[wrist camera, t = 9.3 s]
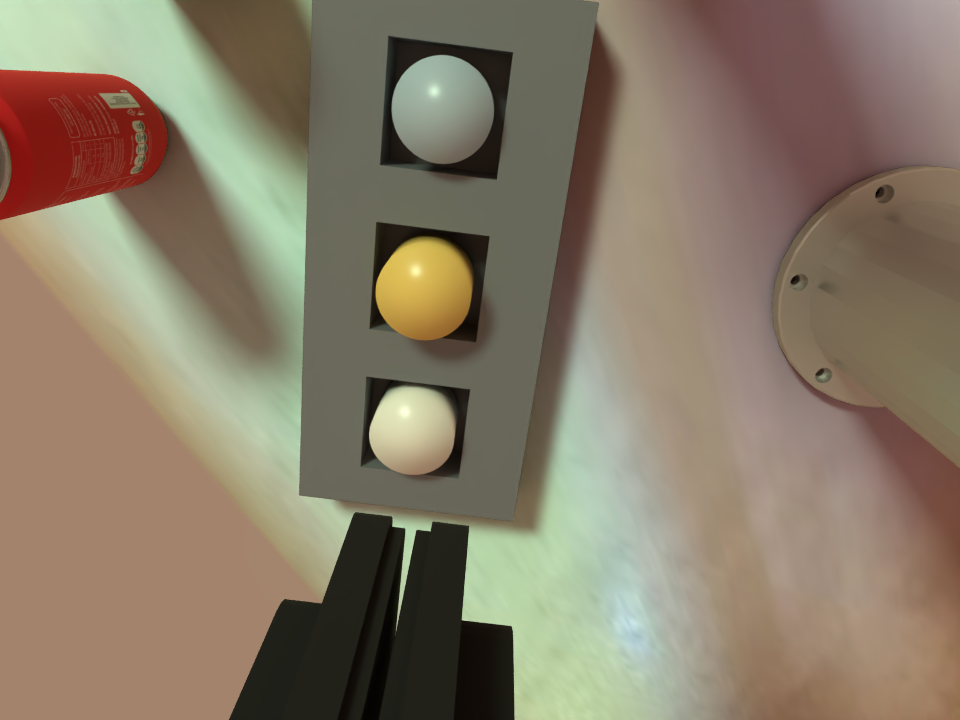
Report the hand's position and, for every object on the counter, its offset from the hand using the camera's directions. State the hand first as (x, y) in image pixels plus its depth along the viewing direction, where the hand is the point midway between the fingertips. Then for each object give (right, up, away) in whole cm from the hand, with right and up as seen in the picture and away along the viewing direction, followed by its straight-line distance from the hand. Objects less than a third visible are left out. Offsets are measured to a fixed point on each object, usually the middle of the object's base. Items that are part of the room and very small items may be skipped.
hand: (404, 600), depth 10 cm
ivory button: (-2, +1, +28) cm, 28 cm away
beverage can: (-17, +15, +24) cm, 33 cm away
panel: (-1, +8, +26) cm, 27 cm away
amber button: (-1, +8, +24) cm, 26 cm away
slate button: (0, +16, +22) cm, 27 cm away
